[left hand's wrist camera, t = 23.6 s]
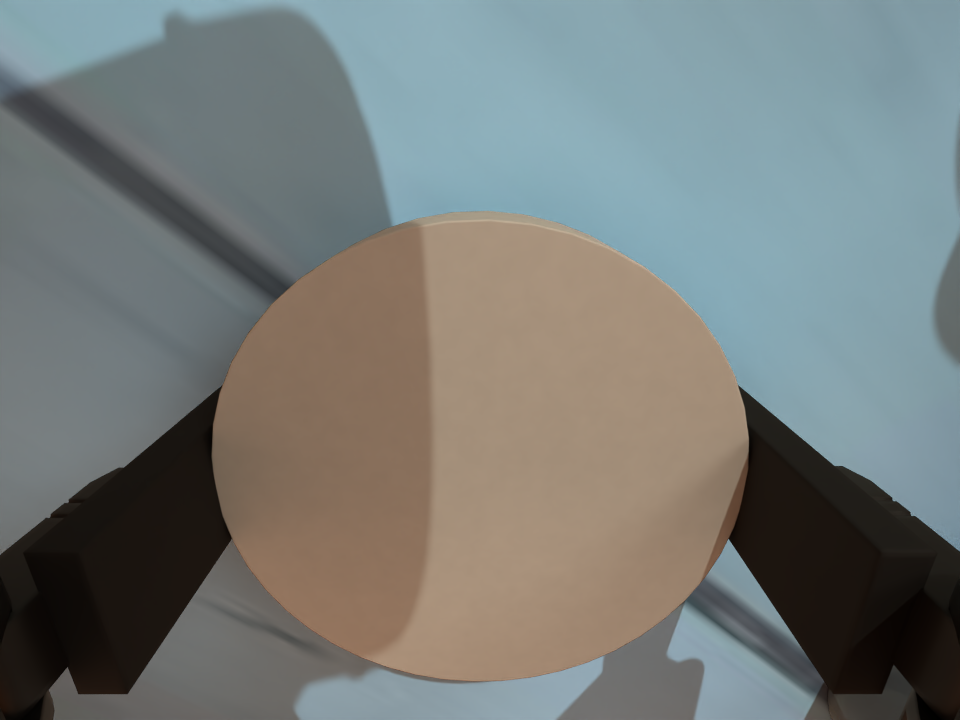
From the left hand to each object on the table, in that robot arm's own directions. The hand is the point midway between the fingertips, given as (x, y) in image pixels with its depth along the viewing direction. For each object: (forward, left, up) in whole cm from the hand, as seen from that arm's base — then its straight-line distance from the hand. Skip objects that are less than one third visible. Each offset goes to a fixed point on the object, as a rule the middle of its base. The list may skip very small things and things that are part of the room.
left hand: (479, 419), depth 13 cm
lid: (0, 0, +3) cm, 3 cm away
